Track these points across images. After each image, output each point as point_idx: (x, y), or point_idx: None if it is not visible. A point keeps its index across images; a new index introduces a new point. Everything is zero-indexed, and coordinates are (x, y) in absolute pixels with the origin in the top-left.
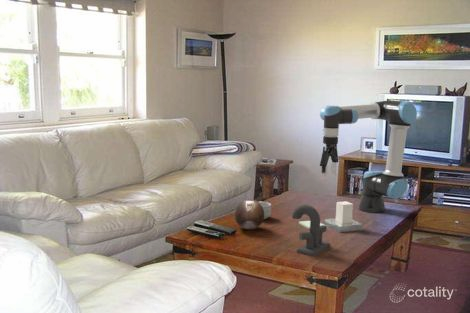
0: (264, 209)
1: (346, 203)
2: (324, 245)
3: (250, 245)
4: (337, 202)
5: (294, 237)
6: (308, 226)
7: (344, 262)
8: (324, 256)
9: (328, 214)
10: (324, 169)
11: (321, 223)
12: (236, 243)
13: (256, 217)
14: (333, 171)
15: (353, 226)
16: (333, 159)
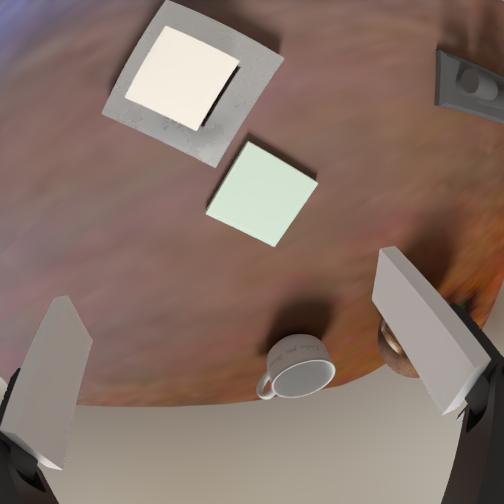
0: (324, 354)
1: (184, 62)
2: (467, 63)
3: (494, 231)
4: (201, 121)
5: (421, 175)
6: (311, 188)
7: (494, 6)
8: (494, 53)
9: (72, 230)
10: (484, 335)
11: (233, 168)
12: (489, 258)
13: (448, 302)
14: (67, 345)
15: (215, 21)
16: (42, 501)
